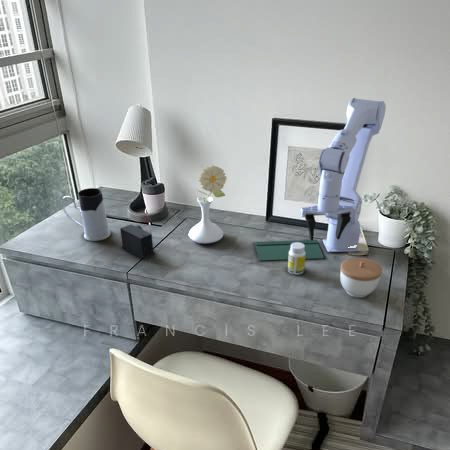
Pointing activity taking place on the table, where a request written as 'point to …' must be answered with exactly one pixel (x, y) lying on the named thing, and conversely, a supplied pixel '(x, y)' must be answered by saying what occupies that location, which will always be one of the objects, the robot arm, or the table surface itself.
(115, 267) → the table surface
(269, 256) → the green board
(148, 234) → the digital camera
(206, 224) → the flower in vase
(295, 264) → the supplement bottle
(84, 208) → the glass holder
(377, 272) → the trinket box
